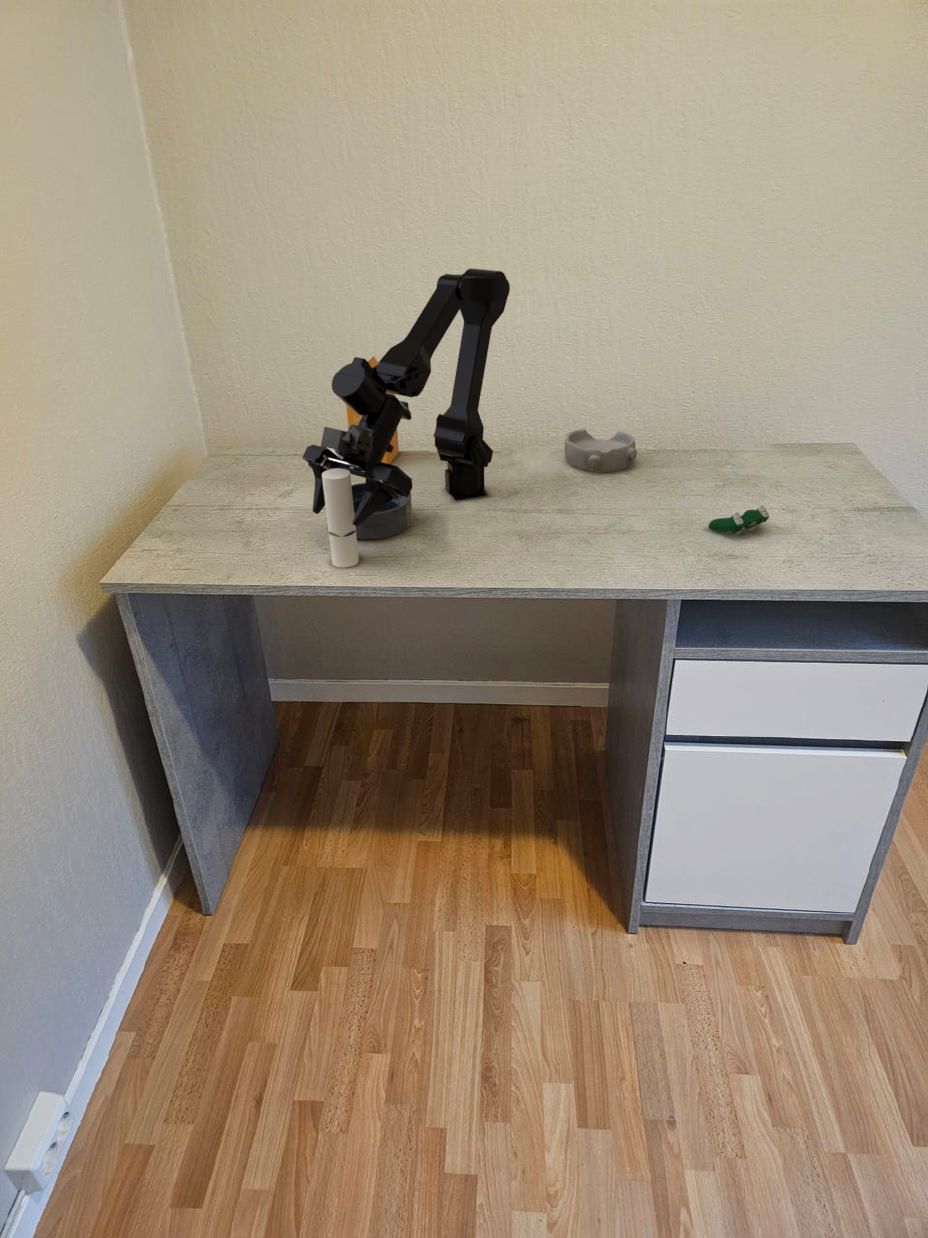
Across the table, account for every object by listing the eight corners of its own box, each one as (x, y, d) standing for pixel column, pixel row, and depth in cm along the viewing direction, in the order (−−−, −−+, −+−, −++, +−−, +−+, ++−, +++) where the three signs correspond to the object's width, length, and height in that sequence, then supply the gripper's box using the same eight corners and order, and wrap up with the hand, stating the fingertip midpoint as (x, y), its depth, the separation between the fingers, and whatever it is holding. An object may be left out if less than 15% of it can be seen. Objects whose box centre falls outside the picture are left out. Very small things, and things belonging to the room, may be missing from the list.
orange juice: (399, 451, 177) (393, 356, 166) (387, 467, 170) (380, 367, 159) (364, 450, 178) (355, 354, 168) (351, 465, 171) (341, 366, 161)
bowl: (401, 502, 154) (399, 477, 152) (421, 533, 143) (420, 506, 140) (326, 514, 151) (323, 488, 148) (341, 547, 139) (338, 519, 137)
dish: (558, 451, 175) (559, 428, 172) (622, 447, 176) (624, 424, 173) (573, 477, 162) (574, 453, 160) (642, 473, 164) (645, 448, 161)
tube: (332, 555, 136) (322, 469, 129) (359, 554, 137) (350, 467, 129) (331, 568, 133) (320, 479, 125) (358, 566, 133) (349, 478, 125)
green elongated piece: (713, 544, 141) (735, 531, 135) (705, 523, 141) (726, 509, 136) (754, 532, 144) (777, 518, 139) (746, 512, 145) (768, 498, 139)
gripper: (303, 394, 129) (260, 484, 128) (395, 414, 120) (350, 511, 118) (342, 429, 139) (303, 513, 137) (431, 450, 129) (390, 541, 128)
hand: (334, 519), depth 130 cm, fingers open, 8 cm apart
